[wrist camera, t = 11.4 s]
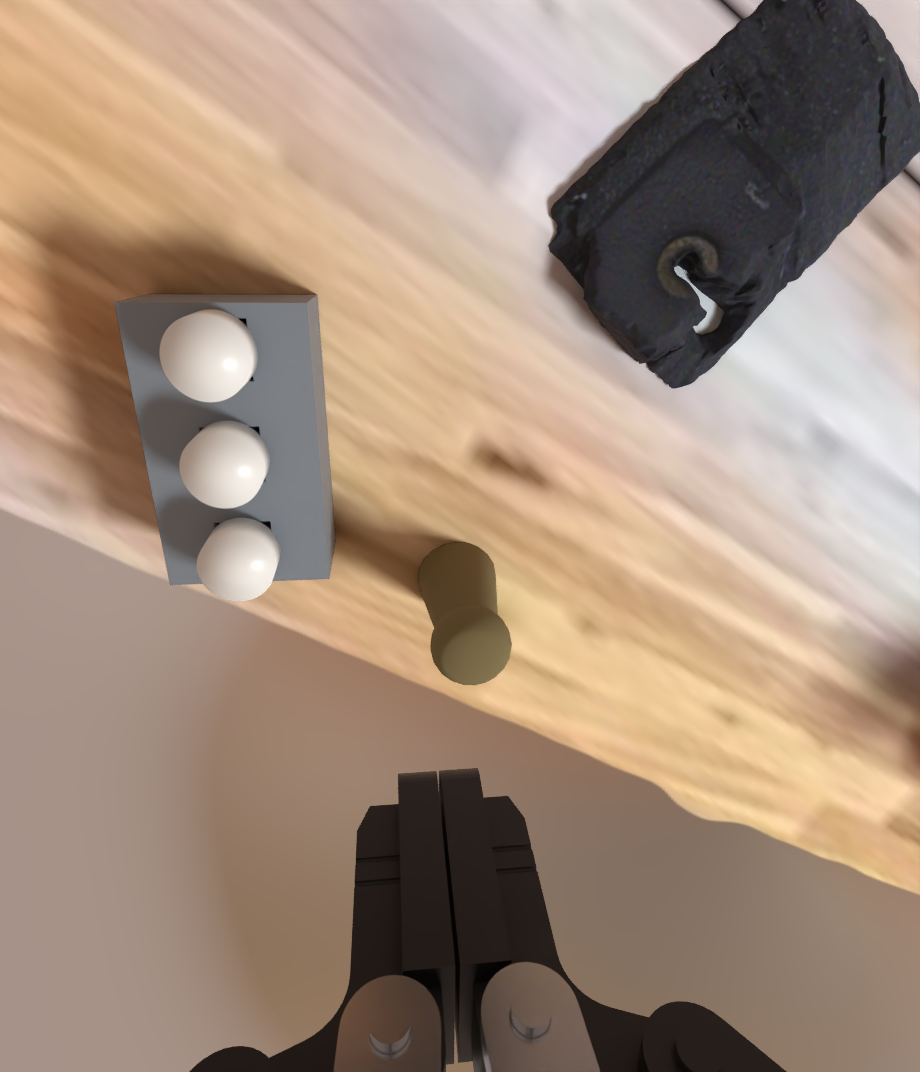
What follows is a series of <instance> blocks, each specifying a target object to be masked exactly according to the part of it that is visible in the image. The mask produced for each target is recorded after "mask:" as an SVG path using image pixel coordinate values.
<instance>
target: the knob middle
mask: <svg viewBox="0 0 920 1072" xmlns="http://www.w3.org/2000/svg"><path fill="white" fill-rule="evenodd" d="M269 466H270V455H269V451H268V448H267V445H266V443H265V442H264V440H263V439H262V437H261V436H260V430H259V426H255V427H249V426H247V425H245V424H243V423H240V422H236V421H227V420H225V421H218V422H214V423H211V424H209V425H208V426H206V427H205V428H203V429H202V430H201V431H200V432H199V433H198V434H197V435H196V436H195V437H194V438H193V439H192V440H191V441H190V442H189V443H188V444H187V446H186V447H185V448H184V450H183V452H182V454H181V457H180V463H179V469H180V475H181V478H182V481H183V483H184V485H185V487H186V488H187V489H188V491H189V492H190V493H191V494H192V495H193V496H194V497H195V498H196V499H198V500H199V501H201V502H203V503H205V504H207V505H209V506H212V507H216V508H235V507H239V506H241V505H244V504H246V503H247V502H249V501H250V500H251V499H252V498H253V497H254V496H255V495H256V494H257V492H258V491H259V489H260V487H261V485H262V483H263V481H264V479H265V477H266V475H267V473H268V470H269Z"/></svg>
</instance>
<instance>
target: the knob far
mask: <svg viewBox="0 0 920 1072" xmlns="http://www.w3.org/2000/svg"><path fill="white" fill-rule="evenodd" d="M270 529H271V522H270V521H260V522H259V521H256V520H253V519H250V518H233V519H229V520H226V521H224V522H222V523H220V524H219V525H218V526H216V527H215V528H214V530H213V531H212V532H211V534H210V536H209V537H208V539H207V541H206V542H205V544H204V546H203V547H202V549H201V551H200V553H199V555H198V558H197V572H198V575H199V578H200V580H201V581H202V583H203V584H204V586H205V587H206V588H207V589H208V590H209V591H211V592H212V593H213V594H215V595H217V596H219V597H221V598H223V599H227V600H231V601H246V600H251V599H254V598H256V597H258V596H260V595H261V594H263V593H264V592H265V591H266V590H267V589H268V588H269V586H270V585H271V583H272V580H273V578H274V575H275V572H276V569H277V566H278V563H279V559H280V545H279V542H278V539H277V537H276V536H275V534H274V533H273V532H272V531H271V530H270Z"/></svg>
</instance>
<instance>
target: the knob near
mask: <svg viewBox="0 0 920 1072" xmlns="http://www.w3.org/2000/svg"><path fill="white" fill-rule="evenodd" d="M159 354H160V361H161V366H162V368H163V371H164V373H165V375H166V377H167V378H168V380H169V381H170V382H171V383H172V385H173V386H174V387H175V388H176V389H177V390H179V391H180V392H181V393H183V394H184V395H186V396H188V397H190V398H192V399H195V400H198V401H202V402H219V401H223V400H226V399H228V398H230V397H232V396H234V395H235V394H236V393H237V392H238V391H239V390H240V389H241V388H242V387H243V386H244V385H245V384H246V383H247V382H248V381H249V380H250V379H251V377H252V376H253V374H254V372H255V370H256V367H257V363H258V350H257V345H256V342H255V339H254V337H253V335H252V334H251V332H250V330H249V329H248V328H247V323H245V322H243V321H240V320H239V319H238V318H236V317H235V316H233V315H231V314H229V313H227V312H224V311H220V310H213V309H208V310H201V311H198V312H195V313H192V314H190V315H187V316H184V317H182V318H180V319H178V320H176V321H175V322H173V323H172V324H171V325H170V326H169V327H168V328H167V330H166V331H165V333H164V335H163V337H162V340H161V343H160V352H159Z"/></svg>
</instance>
